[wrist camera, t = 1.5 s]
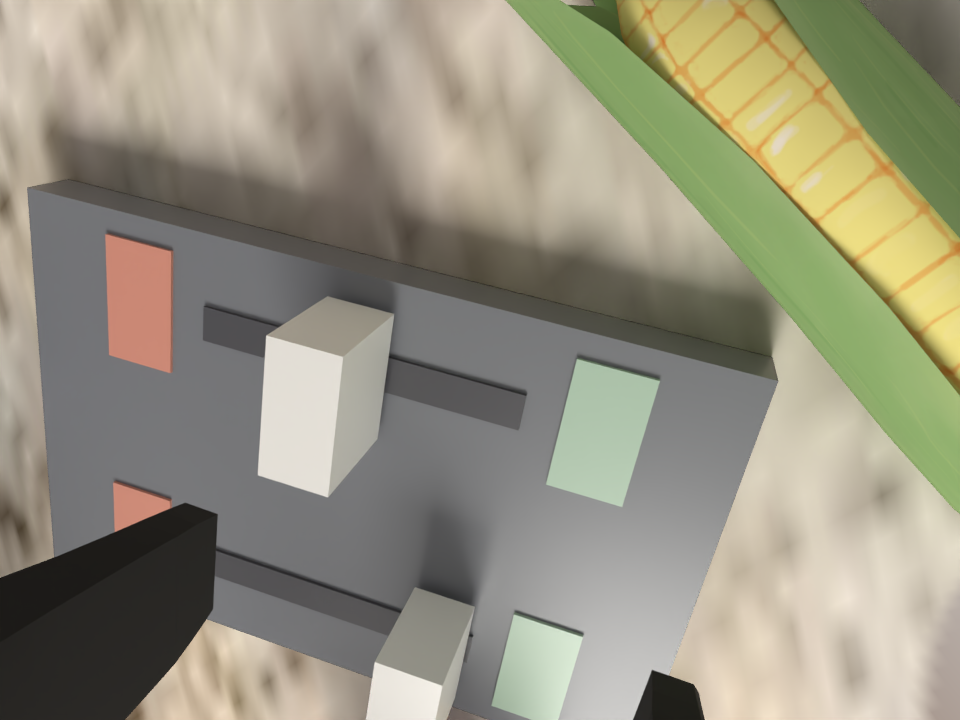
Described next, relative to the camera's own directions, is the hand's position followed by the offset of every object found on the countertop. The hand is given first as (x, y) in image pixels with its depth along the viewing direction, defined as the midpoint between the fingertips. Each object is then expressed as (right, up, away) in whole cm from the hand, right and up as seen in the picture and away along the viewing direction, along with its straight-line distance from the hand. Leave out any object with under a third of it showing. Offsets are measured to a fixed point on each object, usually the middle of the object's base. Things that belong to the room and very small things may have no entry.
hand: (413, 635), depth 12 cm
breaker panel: (-2, +1, +11) cm, 11 cm away
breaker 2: (0, -4, +10) cm, 11 cm away
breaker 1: (-2, +4, +8) cm, 9 cm away
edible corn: (+9, +8, +5) cm, 13 cm away
